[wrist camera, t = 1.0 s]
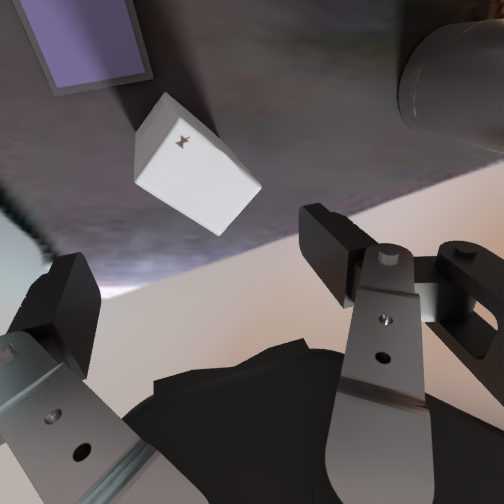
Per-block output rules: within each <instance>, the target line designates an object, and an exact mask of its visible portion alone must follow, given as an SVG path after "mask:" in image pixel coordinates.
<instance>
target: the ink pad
mask: <svg viewBox="0 0 504 504" xmlns="http://www.w3.org/2000/svg"><path fill="white" fill-rule="evenodd" d="M12 1H13V3H14V6H15V8H16V10H17V12H18V15H19V17H20V19H21V22H22V24H23V26H24V28H25V31H26V33H27V35H28V37H29V40H30V42H31V44H32V47H33V49H34V51H35V53H36V56H37V58H38V60H39V63H40V65H41V67H42V69H43V72H44V74H45V76H46V78H47V81H48V83H49V85H50V88H51V90H52V92H53V94H54V97H56V96H61V95H67V94H72V93H78V92H84V91H89V90H95V89H100V88H106V87H112V86H117V85H123V84H128V83H134V82H139V81H145V80H151V79H154V77H153V73H152V70H151V66H150V62H149V59H148V55H147V51H146V48H145V44H144V40H143V37H142V33H141V29H140V26H139V22H138V18H137V15H136V11H135V7H134V4H133V0H12Z"/></svg>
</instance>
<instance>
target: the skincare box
mask: <svg viewBox="0 0 504 504" xmlns="http://www.w3.org/2000/svg"><path fill="white" fill-rule="evenodd" d="M134 182H135V183H136V184H137V185H139V186H140V187H142V188H143V189H145V190H146V191H148V192H150V193H151V194H153V195H154V196H156V197H157V198H159V199H160V200H162V201H163V202H165V203H167V204H168V205H170V206H171V207H173V208H175V209H176V210H178V211H180V212H181V213H183V214H184V215H186V216H188V217H189V218H191V219H193V220H194V221H196V222H197V223H199V224H200V225H202V226H204V227H205V228H207V229H208V230H210V231H211V232H213V233H215V234H216V235H217V236H220V235H221V234H222V232H223V231H224V230H225V229H226V228H227V227H228V226H229V224H230V223H231V222H232V221H233V220H234V219H235V218H236V217H237V215H238V214H239V213H240V212H241V211H242V210H243V209H244V208H245V206H246V205H247V204H248V203H249V202H250V201H251V200H252V198H253V197H254V196H255V195H256V194H257V193H258V192H259V191H260V189H261V188H262V186H261V184H260V183H259V182H258V181H257V180H256V179H255V178H254V176H253V175H252V174H251V173H250V172H249V171H248V169H247V168H246V167H245V166H244V165H243V164H242V163H241V162H240V161H239V159H238V158H237V157H236V156H235V155H234V154H233V153H232V152H231V151H230V150H229V148H228V147H227V146H226V145H225V144H224V143H223V142H222V140H221V139H220V138H218V137H217V136H216V135H215V134H214V133H213V132H212V131H211V130H210V129H208V128H207V127H206V126H205V125H204V124H203V123H202V122H200V121H199V120H198V119H197V118H196V117H195V116H193V115H192V114H191V113H190V112H189V111H188V110H186V109H185V108H184V107H183V106H182V105H181V104H179V103H178V102H177V101H176V100H175V99H173V98H172V97H171V96H170V95H169V94H168V93H167V92H164V93H163V95H162V96H161V98H160V99H159V100H158V102H157V103H156V104H155V106H154V107H153V108H152V110H151V111H150V113H149V114H148V116H147V117H146V119H145V120H144V122H143V123H142V125H141V126H140V128H139V129H138V130H137V132H136V139H135V165H134Z"/></svg>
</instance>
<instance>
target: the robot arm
mask: <svg viewBox="0 0 504 504" xmlns="http://www.w3.org/2000/svg"><path fill="white" fill-rule="evenodd" d="M399 107H400V112H401V114H402V117H403V119H404V120H405V122H406V123H407V124H408V125H409V126H410V127H412V128H413V129H416V130H419V131H422V132H426V133H430V134H433V135H437V136H440V137H444V138H447V139H451V140H454V141H458V142H462V143H466V144H469V145H473V146H477V147H480V148H484V149H488V150H491V151H495V152H499V153H503V154H504V19H497V20H484V21H475V22H466V23H456V24H450V25H445V26H443V27H440V28H438V29H436V30H435V31H433V32H432V33H431V34H429V35H428V36H427V37H426V38H425V39H424V40H423V41H422V42H421V43H420V44H419V45H418V46H417V48H416V49H415V50H414V52H413V53H412V55H411V56H410V58H409V60H408V62H407V64H406V66H405V68H404V71H403V74H402V77H401V81H400V86H399ZM299 246H300V250H301V252H302V255H303V256H304V258H305V259H306V260H307V262H308V263H309V264H310V266H311V267H312V268H313V270H314V271H315V272H316V273H317V275H318V276H319V277H320V279H321V280H322V281H323V283H324V284H325V285H326V286H327V288H328V289H329V290H330V292H331V293H332V294H333V296H334V297H335V298H336V299H337V301H338V302H339V303H340V305H341V306H342V307H343V309H344V308H348V307H352V306H354V308H353V314H352V319H351V324H350V329H349V335H348V340H347V346H346V351H345V354H343V353H340V352H336V351H332V350H326V349H309V348H308V346H307V344H306V342H305V340H304V338H302V339H298V340H295V341H291V342H288V343H284V344H281V345H277V346H274V347H270V348H268V349H266V350H264V351H262V352H260V353H259V354H257V355H255V356H253V357H251V358H249V359H248V360H246V361H244V362H242V363H240V364H239V365H236V366H234V367H228V368H212V369H197V370H190V371H187V372H183V373H180V374H176V375H173V376H169V377H166V378H162V379H159V380H156V381H153V382H154V394H153V395H151V396H150V397H148V398H146V399H145V400H143V401H142V402H140V403H139V404H138V405H137V406H135V407H134V408H133V409H131V410H130V411H129V412H128V413H127V414H126V415H125V416H124V417H123V418H122V419H121V418H120V417H118V415H117V414H116V413H115V412H114V411H113V410H112V409H111V408H110V407H108V406H107V405H106V404H105V403H104V402H103V401H102V400H101V399H100V398H99V397H98V396H97V395H96V394H95V393H94V392H93V391H92V390H91V389H90V388H89V387H88V386H87V385H86V384H85V383H84V382H83V381H82V380H84V379H86V378H87V374H88V369H89V364H90V359H91V353H92V348H93V343H94V338H95V333H96V328H97V323H98V317H99V312H100V307H101V294H100V290H99V288H98V285H97V283H96V281H95V279H94V276H93V274H92V272H91V270H90V268H89V266H88V263H87V261H86V259H85V257H84V255H83V254H82V253H81V252H78V253H73V254H68V255H63V256H58V257H56V258H55V259H54V261H53V264H52V266H51V268H50V270H49V272H48V273H47V274H42V275H41V276H40V277H39V278H38V279H37V280H36V281H35V282H34V283H33V284H32V285H31V286H30V288H29V290H28V293H27V294H26V298H24V300H23V302H22V304H21V307H20V308H19V310H18V312H17V313H16V315H15V317H14V319H13V321H12V323H11V325H10V327H9V329H8V331H7V333H6V334H4V335H2V336H0V445H2V444H4V443H7V444H8V446H9V448H10V449H11V451H12V452H13V454H14V456H15V457H16V459H17V460H18V462H19V464H20V465H21V467H22V469H23V470H24V472H25V473H26V475H27V477H28V478H29V480H30V482H31V483H32V485H33V486H34V488H35V490H36V491H37V493H38V494H39V496H40V498H41V499H42V501H43V503H44V504H504V431H503V430H501V429H499V428H497V427H495V426H493V425H491V424H489V423H487V422H485V421H482V420H480V419H478V418H476V417H474V416H472V415H470V414H468V413H466V412H464V411H462V410H460V409H458V408H456V407H454V406H452V405H450V404H448V403H445V402H443V401H441V400H439V399H437V398H435V397H433V396H431V395H429V394H427V393H425V389H424V368H423V349H422V348H423V347H422V329H421V322H425V323H426V324H427V325H428V327H429V328H430V329H431V330H432V331H433V332H434V333H435V334H436V335H437V336H438V337H439V338H440V339H441V340H442V341H443V343H444V344H445V345H446V346H447V347H448V348H449V349H450V350H451V351H452V352H453V353H454V354H455V355H456V356H457V357H458V358H459V360H460V361H461V362H462V363H463V364H464V365H465V366H466V367H467V368H468V369H469V370H470V371H471V372H472V374H473V375H474V376H475V377H476V378H477V379H478V380H479V381H480V382H481V383H482V384H483V385H484V386H485V387H486V389H488V391H489V392H490V393H491V394H492V395H493V396H494V397H495V398H496V399H497V400H498V401H499V402H500V403H501V405H503V406H504V260H503V259H502V258H500V257H498V256H497V255H495V254H494V253H492V252H491V251H489V250H487V249H486V248H484V247H482V246H480V245H477V244H474V243H471V242H466V241H448V242H445V243H443V244H441V245H440V247H439V250H438V254H437V256H423V257H413V255H412V253H411V252H410V251H409V250H408V249H406V248H404V247H402V246H399V245H395V244H390V243H380V244H379V243H377V242H376V241H375V240H374V239H373V238H371V237H370V236H369V235H368V234H367V233H365V232H364V231H363V230H362V229H360V228H359V227H358V226H357V225H356V224H353V222H352V221H350V220H349V219H348V218H347V217H346V216H343V215H341V214H338V213H336V212H330V211H329V210H328V209H326V208H325V207H324V206H323V205H322V204H320V203H314V204H310V205H305V206H301V207H300V208H299ZM476 301H478V302H479V303H480V304H482V305H483V306H484V307H485V308H487V309H488V310H489V311H490V312H491V313H492V314H493V315H494V316H495V318H496V320H497V324H498V330H495V329H494V328H493V327H492V326H491V325H490V324H488V323H487V322H486V321H485V320H483V318H481V317H480V316H479V315H478V314H477V313H476V312H474V311H473V309H474V307H475V304H476Z"/></svg>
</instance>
